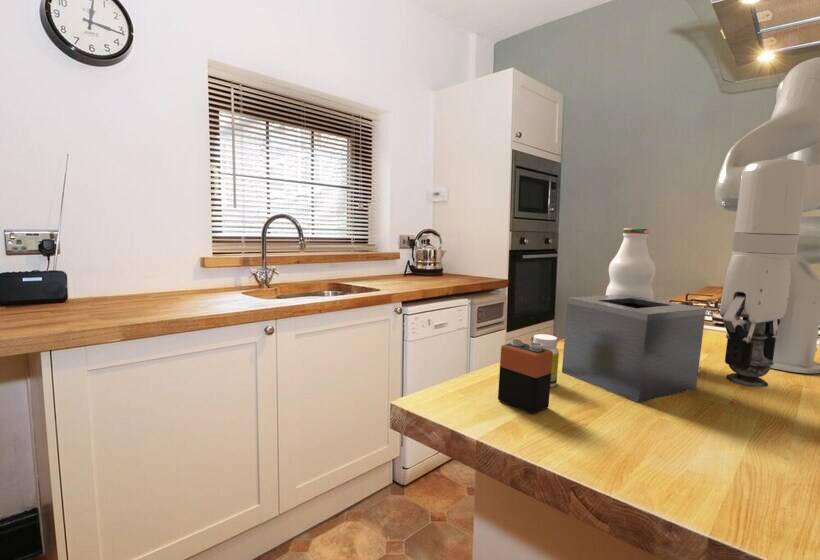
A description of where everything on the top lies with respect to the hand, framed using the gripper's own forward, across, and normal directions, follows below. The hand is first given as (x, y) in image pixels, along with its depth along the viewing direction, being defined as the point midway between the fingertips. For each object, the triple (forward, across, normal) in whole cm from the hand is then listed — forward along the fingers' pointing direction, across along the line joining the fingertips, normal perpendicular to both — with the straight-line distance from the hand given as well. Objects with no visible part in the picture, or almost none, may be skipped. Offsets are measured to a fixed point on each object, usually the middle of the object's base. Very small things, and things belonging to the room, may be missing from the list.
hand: (748, 361), depth 68 cm
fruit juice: (+9, -9, -28) cm, 30 cm away
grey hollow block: (+8, +5, -17) cm, 19 cm away
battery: (+7, +31, -16) cm, 36 cm away
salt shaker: (+3, 0, 0) cm, 3 cm away
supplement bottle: (+8, +21, -22) cm, 31 cm away
